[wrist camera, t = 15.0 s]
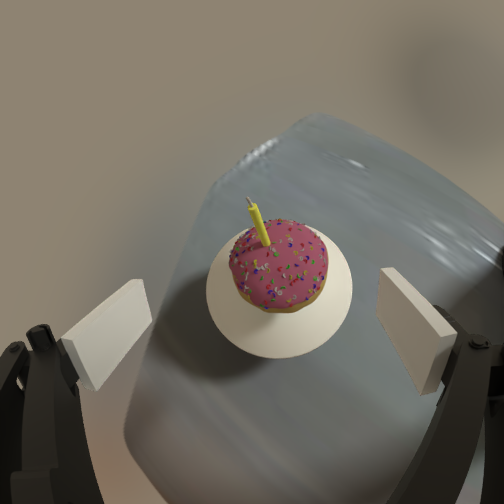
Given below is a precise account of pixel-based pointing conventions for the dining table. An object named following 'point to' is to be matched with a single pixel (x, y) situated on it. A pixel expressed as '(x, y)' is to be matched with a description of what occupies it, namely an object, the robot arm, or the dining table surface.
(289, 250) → the cupcake
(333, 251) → the cake stand
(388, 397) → the dining table surface
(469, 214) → the dining table surface
